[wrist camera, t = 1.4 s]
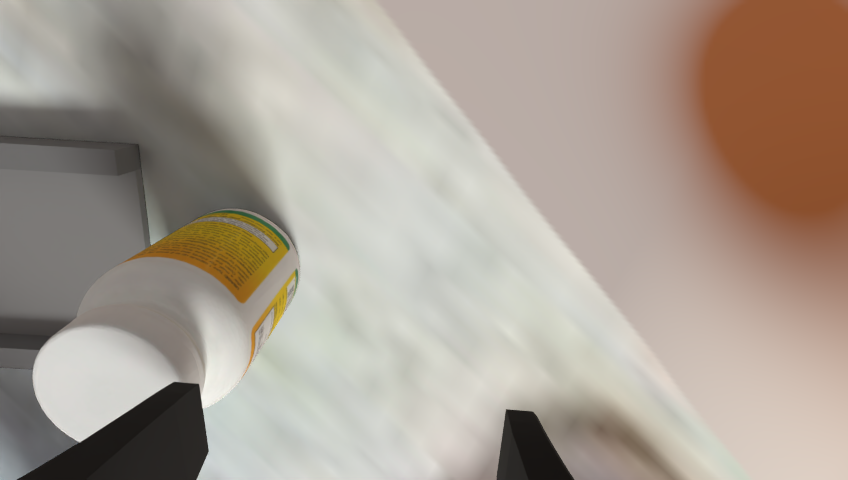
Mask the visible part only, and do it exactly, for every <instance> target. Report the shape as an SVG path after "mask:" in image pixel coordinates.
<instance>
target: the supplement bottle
mask: <svg viewBox="0 0 848 480" xmlns="http://www.w3.org/2000/svg"><path fill="white" fill-rule="evenodd" d="M299 280H300V264H299V259H298V255H297V252H296V250H295V248H294V246H293V244H292V242H291V241H290V239H289V237H288V236H287V235H286V234H285V233H284V232H283V231H282V230H281V229H280V228H279V227H278V226H277V225H276V224H274V223H273V222H271V221H270V220H268V219H267V218H265V217H263V216H261V215H259V214H257V213H254V212H252V211H248V210H243V209H231V208H230V209H220V210H216V211H213V212H210V213H207V214H205V215H203V216H201V217H199V218H197V219H196V220H194V221H192V222H191V223H189V224H187V225H185V226H183V227H182V228H180V229H178V230H177V231H175V232H173V233H172V234H170V235H168V236H167V237H165V238H163V239H162V240H160V241H158V242H157V243H155V244H153V245H151V246H150V247H148V248H146V249H145V250H143V251H141V252H140V253H138V254H136V255H134V256H133V257H131V258H129V259H128V260H126V261H124V262H123V263H121V264H119V265H117V266H116V267H114V268H112V269H111V270H109V271H108V272H106V273H105V274H104V275H102V276H101V277H100V278H99V279H98V280H97V281H96V282H95V283H94V284H93V285H92V286H91V287H90V289H89V290H88V291H87V293H86V294H85V296H84V298H83V300H82V302H81V304H80V306H79V310H78V313H77V317H76V318H75V319H74V320H73V321H72V322H71V323H69V324H68V325H66V326H65V327H64V328H62V329H61V330H60V331H58V332H57V333H56V334H54V335H53V336H52V337H51V338H50V339H49V340H48V341H47V342H46V343H45V344H44V345H43V346H42V348H41V349H40V351H39V353H38V355H37V357H36V359H35V362H34V366H33V375H32V379H33V387H34V391H35V395H36V398H37V400H38V402H39V404H40V406H41V408H42V410H43V411H44V412H45V414H46V415H47V417H48V418H49V419H50V420H51V421H52V422H53V423H54V424H55V426H57V427H58V428H59V429H60V430H61V431H63V432H64V433H65V434H67V435H68V436H70V437H72V438H73V439H75V440H76V441H78V442H81V441H83V440H84V439H86V438H88V437H89V436H91V435H92V434H94V433H95V432H97V431H98V430H100V429H101V428H103V427H105V426H106V425H108V424H109V423H111V422H112V421H114V420H115V419H117V418H118V417H120V416H121V415H123V414H124V413H126V412H128V411H129V410H131V409H132V408H134V407H135V406H137V405H138V404H140V403H141V402H143V401H144V400H146V399H147V398H149V397H150V396H152V395H153V394H155V393H156V392H158V391H160V390H161V389H163V388H164V387H166V386H168V385H169V384H171V383H173V382H183V383H195V384H199V386H200V394H201V401H202V408H203V409H204V408H206V407H209V406H211V405H213V404H215V403H216V402H218V401H219V400H221V399H222V398H223V397H225V396H226V395H227V394H228V393H229V392H230V391H232V390H233V388H234V387H235V386H236V385H237V384H238V382H239V381H240V380H241V379H242V377H243V376H244V374H245V373H246V371H247V370H248V368H249V367H250V365H251V363H252V362H253V360H254V359H255V357H256V355H257V354H258V352H259V351H260V350H261V348H262V346H263V345H264V343H265V342H266V340H267V339H268V337H269V336H270V334H271V333H272V331H273V329H274V328H275V326H276V325H277V323H278V322H279V320H280V319H281V317H282V315H283V314H284V312H285V311H286V309H287V308H288V306H289V304H290V303H291V301H292V299H293V298H294V296H295V294H296V291H297V288H298V285H299Z"/></svg>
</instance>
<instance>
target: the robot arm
mask: <svg viewBox="0 0 848 480" xmlns="http://www.w3.org/2000/svg"><path fill="white" fill-rule="evenodd" d="M208 452H209V450H208V443H207V436H206V429H205V422H204V415H203V408H202V401H201V394H200V386H199V384H195V383H183V382H173V383H171V384H169V385H168V386H166V387H164V388H163V389H161V390H160V391H158V392H156V393H155V394H153V395H152V396H150V397H149V398H147V399H146V400H144V401H143V402H141V403H140V404H138V405H137V406H135V407H134V408H132V409H131V410H129V411H128V412H126V413H124V414H123V415H121V416H120V417H118V418H117V419H115V420H114V421H112V422H111V423H109V424H108V425H106V426H105V427H103V428H101V429H100V430H98V431H97V432H95V433H94V434H92V435H91V436H89V437H88V438H86V439H84V440H83V441H81V442H80V443H78V444H76V445H75V446H73V447H71V448H70V449H68V450H66V451H65V452H63V453H61V454H60V455H58V456H56V457H55V458H53V459H51V460H50V461H48V462H46V463H45V464H43V465H41V466H40V467H38V468H36V469H35V470H33V471H31V472H30V473H28V474H26V475H24V476H23V477H21V478H19V479H17V480H196V479H197V477H198V475H199V472H200V470H201V468H202V465H203V463H204V461H205V459H206V456H207V454H208ZM497 480H574V479H573V477H572V475H571V474H570V472H569V471H568V469H567V468H566V466H565V465H564V463H563V461H562V460H561V458H560V456H559V455H558V453H557V451H556V450H555V448H554V446H553V445H552V443H551V441H550V439H549V438H548V436H547V434H546V432H545V431H544V429H543V427H542V425H541V423H540V421H539V419H538V417H537V416H536V415H535V414H534V412H531V411H519V410H507V409H506V414H505V421H504V428H503V436H502V443H501V450H500V457H499V464H498V471H497Z"/></svg>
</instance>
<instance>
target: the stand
mask: <svg viewBox="0 0 848 480" xmlns="http://www.w3.org/2000/svg"><path fill="white" fill-rule="evenodd" d="M148 247H150V238H149V230H148V222H147V213H146V205H145V197H144V189H143V181H142V173H141V165H140V156H139V148H138V144H123V143H106V142H89V141H73V140H56V139H39V138H23V137H6V136H0V367H1V368H18V369H33V366H34V362H35V359H36V357H37V355H38V353H39V351H40V349H41V348H42V346H43V345H44V344H45V343H46V342H47V341H48V340H49V339H50V338H51V337H52V336H53V335H54V334H56V333H57V332H58V331H60V330H61V329H62V328H64V327H65V326H66V325H68V324H69V323H71V322H72V321H73V320H74V319H75V318H76V317H77V313H78V310H79V306H80V304H81V302H82V300H83V298H84V296H85V294H86V293H87V291H88V290H89V289H90V287H91V286H92V285H93V284H94V283H95V282H96V281H97V280H98V279H99V278H100V277H101V276H102V275H104V274H105V273H106V272H108V271H109V270H111V269H112V268H114V267H116V266H117V265H119V264H121V263H123V262H124V261H126V260H128V259H129V258H131V257H133V256H134V255H136V254H138V253H140V252H141V251H143V250H145V249H146V248H148Z"/></svg>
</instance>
